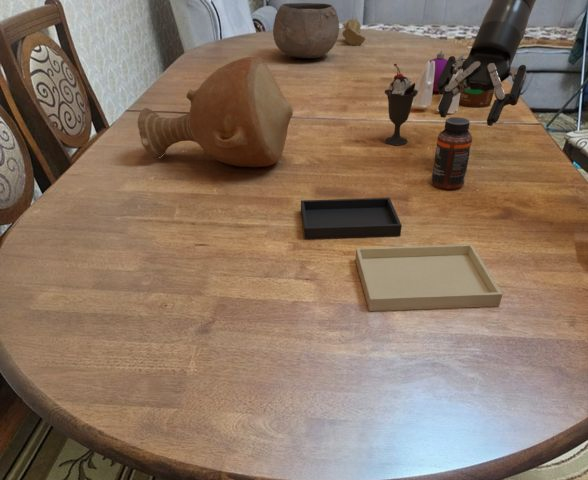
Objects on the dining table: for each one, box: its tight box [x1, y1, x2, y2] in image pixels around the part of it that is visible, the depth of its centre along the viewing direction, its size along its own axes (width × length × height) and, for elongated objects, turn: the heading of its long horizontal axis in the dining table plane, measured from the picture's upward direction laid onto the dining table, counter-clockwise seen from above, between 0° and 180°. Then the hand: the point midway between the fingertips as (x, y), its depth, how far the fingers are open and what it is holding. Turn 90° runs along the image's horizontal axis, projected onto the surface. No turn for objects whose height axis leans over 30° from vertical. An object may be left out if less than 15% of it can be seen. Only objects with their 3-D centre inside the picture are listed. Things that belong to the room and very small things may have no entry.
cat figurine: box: [342, 18, 366, 46], centre depth 193 cm, size 8×7×12 cm
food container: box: [457, 54, 494, 109], centre depth 135 cm, size 12×6×10 cm, turn 40°
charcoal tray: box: [300, 197, 403, 240], centre depth 88 cm, size 15×10×2 cm, turn 93°
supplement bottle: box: [430, 116, 473, 190], centre depth 97 cm, size 6×6×11 cm
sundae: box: [384, 63, 418, 146], centre depth 113 cm, size 7×7×15 cm
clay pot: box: [272, 2, 340, 59], centre depth 173 cm, size 21×21×15 cm
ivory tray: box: [354, 243, 503, 312], centre depth 75 cm, size 17×13×2 cm
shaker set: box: [411, 60, 463, 114], centre depth 130 cm, size 12×4×11 cm, turn 77°
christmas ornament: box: [429, 49, 448, 93], centre depth 144 cm, size 8×8×10 cm
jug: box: [137, 56, 294, 168], centre depth 104 cm, size 20×19×30 cm
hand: (465, 119), depth 96 cm, fingers open, 8 cm apart
